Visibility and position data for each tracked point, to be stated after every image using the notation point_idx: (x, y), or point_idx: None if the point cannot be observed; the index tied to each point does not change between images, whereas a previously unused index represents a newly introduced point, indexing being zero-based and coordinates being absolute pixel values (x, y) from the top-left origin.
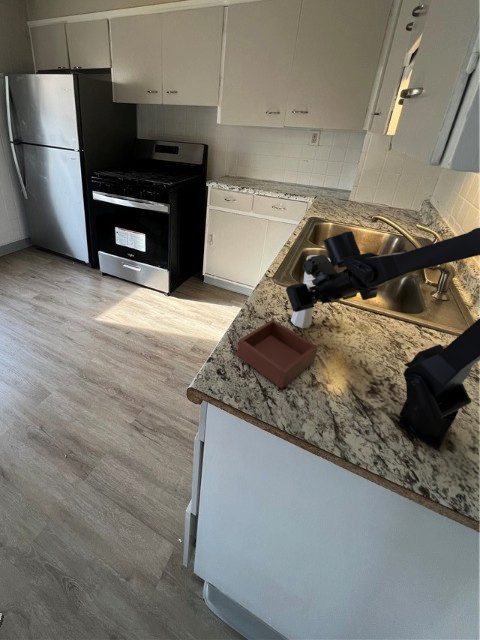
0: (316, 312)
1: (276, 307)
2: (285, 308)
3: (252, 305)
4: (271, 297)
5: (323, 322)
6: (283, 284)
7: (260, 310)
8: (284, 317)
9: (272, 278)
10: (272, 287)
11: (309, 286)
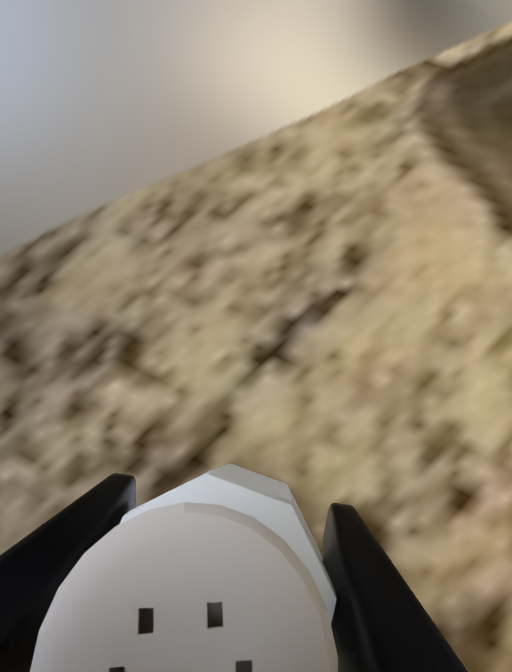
0: (461, 509)
1: (215, 313)
2: (265, 351)
3: (88, 227)
4: (274, 216)
5: None
6: (463, 146)
7: (88, 290)
8: (170, 431)
9: (438, 76)
10: (365, 141)
11: (273, 626)
